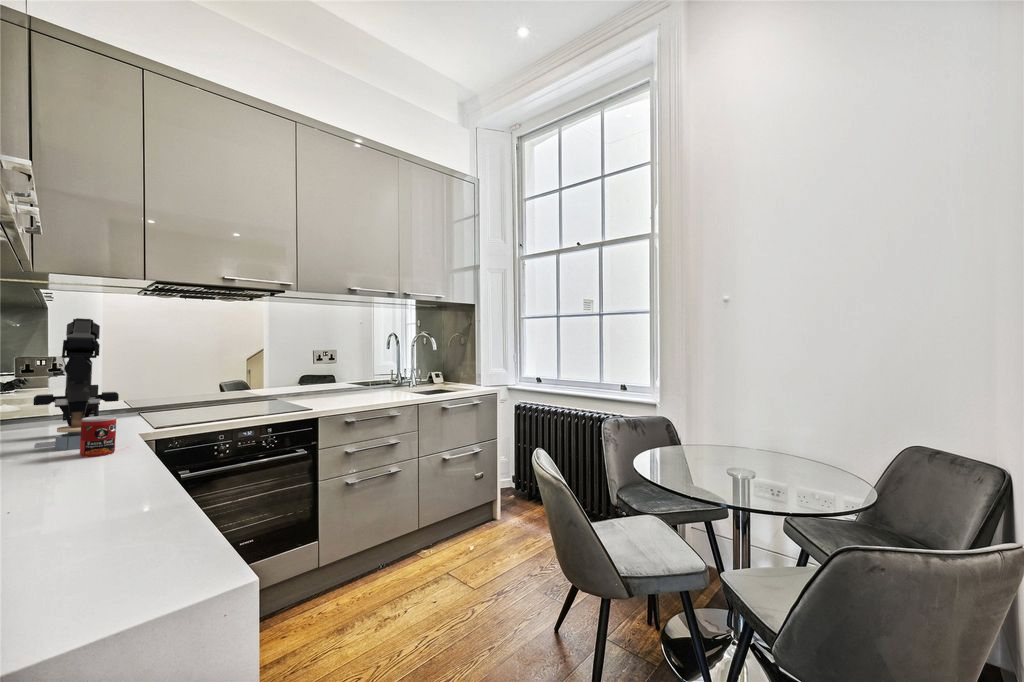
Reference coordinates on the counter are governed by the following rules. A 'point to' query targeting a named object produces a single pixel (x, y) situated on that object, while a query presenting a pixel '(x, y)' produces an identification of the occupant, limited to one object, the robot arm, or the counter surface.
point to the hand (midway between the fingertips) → (76, 425)
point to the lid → (73, 423)
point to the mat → (45, 444)
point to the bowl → (68, 441)
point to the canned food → (97, 436)
